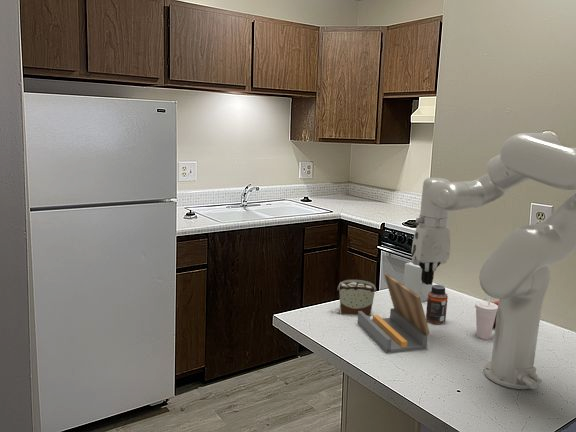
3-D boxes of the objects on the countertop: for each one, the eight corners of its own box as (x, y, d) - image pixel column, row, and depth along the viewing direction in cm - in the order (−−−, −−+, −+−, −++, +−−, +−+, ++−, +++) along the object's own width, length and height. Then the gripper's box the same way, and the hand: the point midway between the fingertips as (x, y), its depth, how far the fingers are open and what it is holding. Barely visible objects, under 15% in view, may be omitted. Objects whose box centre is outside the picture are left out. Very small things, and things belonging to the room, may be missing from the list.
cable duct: (426, 349, 141) (427, 335, 141) (386, 353, 138) (387, 339, 137) (393, 320, 160) (394, 308, 159) (357, 323, 157) (358, 311, 156)
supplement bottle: (447, 325, 158) (451, 290, 155) (428, 324, 158) (431, 289, 156) (442, 317, 164) (445, 283, 161) (423, 316, 164) (426, 283, 161)
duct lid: (427, 335, 141) (430, 334, 141) (417, 297, 137) (419, 296, 137) (394, 308, 159) (396, 307, 160) (384, 274, 156) (386, 273, 156)
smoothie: (497, 342, 147) (502, 295, 144) (473, 339, 148) (478, 293, 145) (492, 332, 153) (498, 288, 150) (470, 330, 154) (475, 286, 151)
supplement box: (419, 304, 175) (422, 268, 172) (401, 297, 180) (404, 263, 178) (431, 299, 179) (435, 264, 177) (414, 293, 185) (417, 259, 182)
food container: (373, 309, 169) (375, 280, 167) (375, 316, 163) (377, 286, 161) (336, 307, 170) (337, 278, 168) (336, 314, 164) (337, 284, 162)
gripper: (415, 225, 140) (409, 289, 144) (464, 224, 144) (456, 286, 148) (402, 219, 147) (397, 280, 151) (449, 218, 151) (442, 277, 155)
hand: (426, 282), depth 149 cm, fingers closed
